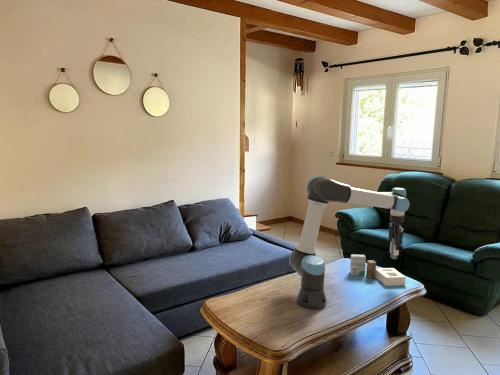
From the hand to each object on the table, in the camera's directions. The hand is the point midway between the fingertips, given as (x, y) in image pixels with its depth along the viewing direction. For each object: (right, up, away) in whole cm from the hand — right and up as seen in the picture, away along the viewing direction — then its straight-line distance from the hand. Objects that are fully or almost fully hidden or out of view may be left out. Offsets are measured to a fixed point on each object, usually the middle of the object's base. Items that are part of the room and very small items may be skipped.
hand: (394, 253), depth 213 cm
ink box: (-17, -15, +15) cm, 28 cm away
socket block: (-1, -17, +5) cm, 18 cm away
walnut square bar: (-10, -16, +10) cm, 22 cm away
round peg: (0, -3, 0) cm, 3 cm away
